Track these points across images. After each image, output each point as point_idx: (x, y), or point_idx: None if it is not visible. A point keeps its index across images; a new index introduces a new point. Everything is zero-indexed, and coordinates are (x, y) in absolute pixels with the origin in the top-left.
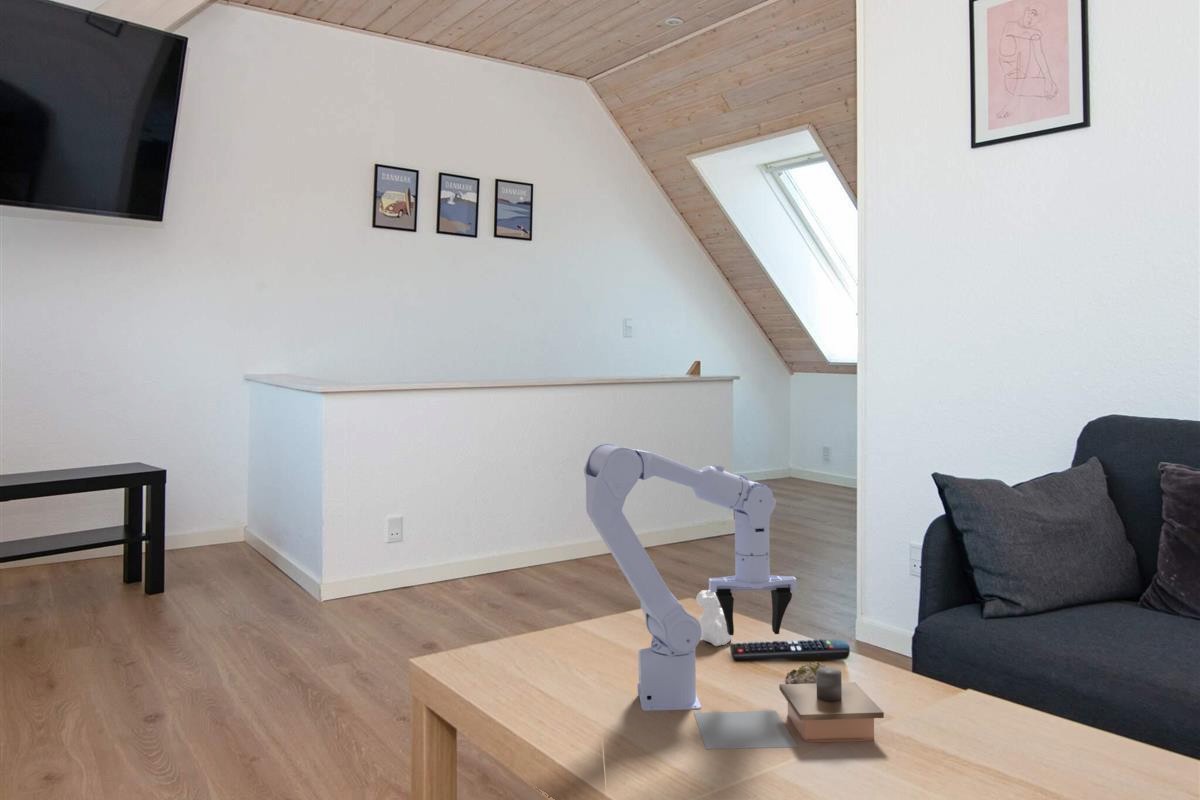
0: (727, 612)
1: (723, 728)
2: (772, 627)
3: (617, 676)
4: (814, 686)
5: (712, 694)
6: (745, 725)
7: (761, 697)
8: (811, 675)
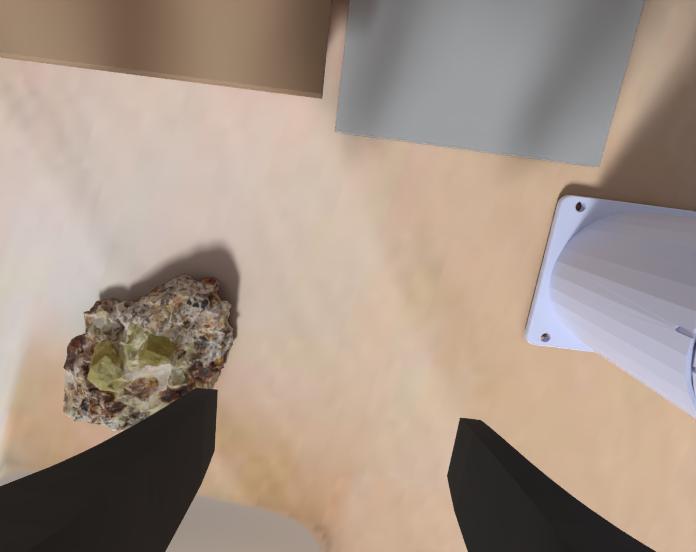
0: (593, 522)
1: (559, 13)
2: (207, 462)
3: (685, 494)
4: (177, 35)
5: (472, 318)
6: (478, 25)
7: (335, 268)
8: (136, 322)
